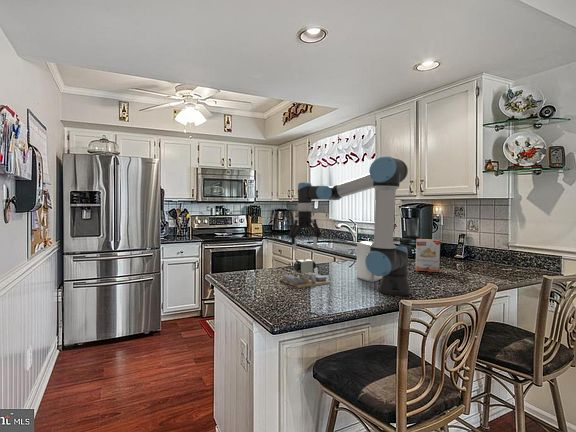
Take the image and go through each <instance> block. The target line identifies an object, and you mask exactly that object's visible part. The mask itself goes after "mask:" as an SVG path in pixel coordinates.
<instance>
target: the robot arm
mask: <svg viewBox="0 0 576 432" xmlns="http://www.w3.org/2000/svg"><path fill="white" fill-rule="evenodd" d="M368 169H369V170H368V171H369V173H367V174H365V175H362V176H358V177H356V178H353V179H349V180H346V181H343V182H341V183H338V184H334V185H332V186H330V185H328V184H320V185H319V184H318V185H312V183H311V182H306V181H305V182H299V183H298V184H297V210H298V211H297V218H298V219H293V220H292V225H291V227H290V230H289V232H288V235H287V237H288V238H290V239H291V241H290V242H291V245H292V251H297V236H298V234H299V232H300V231H301V230H302V229H305V228H306V229H308V230H310V232H311V234H312V235H313V236H312V249H315V250H317V249H318V242H319V237H320V236H322V233H321V231H320V228H319V226H318V224H317V219H314V218H312V217H313V215H312V212H313V211H312V208H313V207H312V206H313V205H312V204H313V203H312V202H313V201H314V200H315V201H317V200H318V201H319V200H320V201H321V200H322V201H325V200H326V201H327V200H328V201H339V200H341V199H342V198H344V197H348V196H351V195H355V194H358V193H361V192H365V191H367V190H368V191H369V190H371V189H375V210H374V231H373V243H372V244H371V245H370V253H369V254H368V255H367V256H366V259H365V264H366V267H367V269H368V270H369V271H370V273H372V274H373V275H375V276H382V279H380V282H379V285H378V292H379V293H381V294H383V295H388V296H397V297H403V296H404V295H405V296H409V295H411V294H412V289H411V287H410V283H409V279H408V266H409V265H408V261H409V258H408V257H409V253H408V248H407V246H399V245H395V244H394V234H395V233H394V232H395V231H394V230H395V210H396V209H395V208H396V193H397V192H396V191H397V190H398V189H399V188H400V183H402V182H403V181H404V180H405V179H406V178H407V176H408V173H409V169H408V166H407V164H406V163H405V162H404V161H403V160H402V159H400V158H395V157H392V156H380V157H377V158H375V159H374V160H373V161H372V162H371V163H370V166H369V168H368Z"/></svg>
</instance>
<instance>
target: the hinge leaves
mask: <svg viewBox="0 0 576 432" xmlns="http://www.w3.org/2000/svg"><path fill="white" fill-rule="evenodd" d="M307 274H309V276H310V279H311V283H312V284H315V283H316V281H318V282H320V281H326V280H327V276H325V275H321V274H317V273H314V272H308V273H307ZM298 276H299V273H298V272H296V271H295V270H294V269H293V274H285V275H282V278H283V279H284V280H286V281H289V282H292V283H294V284H305V280H304V279H301V278H299V277H298Z"/></svg>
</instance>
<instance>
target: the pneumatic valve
mask: <svg viewBox="0 0 576 432" xmlns="http://www.w3.org/2000/svg"><path fill="white" fill-rule="evenodd" d="M316 267H317V265H316V262H315V260H314V259H310V258H308V259H306V257H304V258H303V259H296V260H295V262H294V263H293V271H294V270H295V271H296V272H298V274H300V275H299V276H300V278H301V279H304V280H305V281H306V280H309V278H310V276H309V274H307V273H308V272H312V273H314V271H315V269H316Z"/></svg>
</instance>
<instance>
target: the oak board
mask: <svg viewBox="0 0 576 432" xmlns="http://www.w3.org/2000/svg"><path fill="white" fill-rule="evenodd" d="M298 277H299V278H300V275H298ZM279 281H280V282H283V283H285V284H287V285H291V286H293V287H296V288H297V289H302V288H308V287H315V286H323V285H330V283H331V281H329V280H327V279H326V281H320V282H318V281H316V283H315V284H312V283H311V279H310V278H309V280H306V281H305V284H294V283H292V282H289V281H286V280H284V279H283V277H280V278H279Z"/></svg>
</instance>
